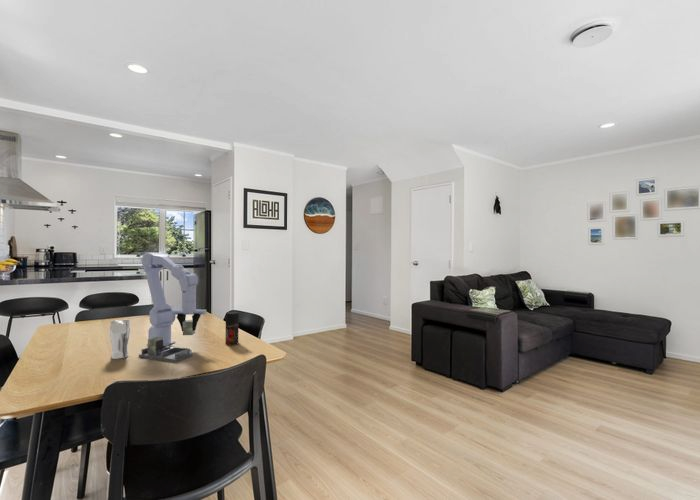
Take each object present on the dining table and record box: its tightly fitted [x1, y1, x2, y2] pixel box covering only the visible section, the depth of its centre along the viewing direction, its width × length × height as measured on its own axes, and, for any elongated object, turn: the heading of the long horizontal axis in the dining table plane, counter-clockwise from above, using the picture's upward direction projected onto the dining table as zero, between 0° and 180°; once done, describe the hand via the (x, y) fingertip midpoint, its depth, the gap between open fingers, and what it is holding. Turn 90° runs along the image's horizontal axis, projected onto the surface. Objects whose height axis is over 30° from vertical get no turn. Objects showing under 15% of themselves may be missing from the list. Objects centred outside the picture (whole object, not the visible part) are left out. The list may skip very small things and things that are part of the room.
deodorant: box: [224, 311, 240, 346], centre depth 167 cm, size 6×6×15 cm
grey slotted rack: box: [138, 337, 193, 363], centre depth 146 cm, size 19×9×7 cm, turn 73°
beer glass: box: [109, 319, 131, 360], centre depth 144 cm, size 7×7×15 cm
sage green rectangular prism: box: [182, 319, 196, 336], centre depth 157 cm, size 4×4×6 cm
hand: (188, 330), depth 156 cm, fingers closed on sage green rectangular prism, 4 cm apart
